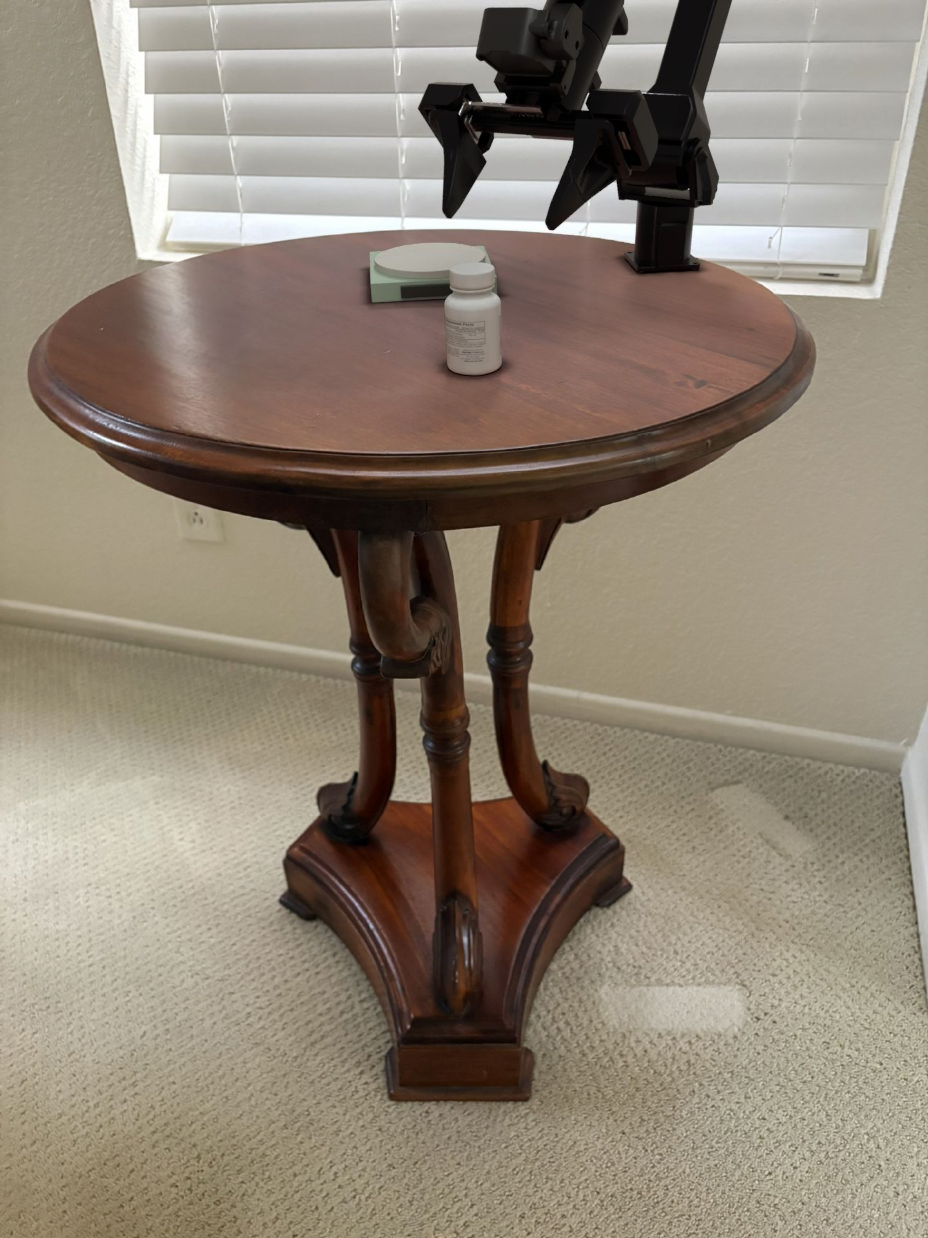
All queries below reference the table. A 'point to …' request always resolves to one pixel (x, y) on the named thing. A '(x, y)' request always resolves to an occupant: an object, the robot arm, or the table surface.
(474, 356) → the pill bottle
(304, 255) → the table surface
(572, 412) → the table surface
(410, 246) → the scale
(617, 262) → the table surface
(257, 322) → the table surface
